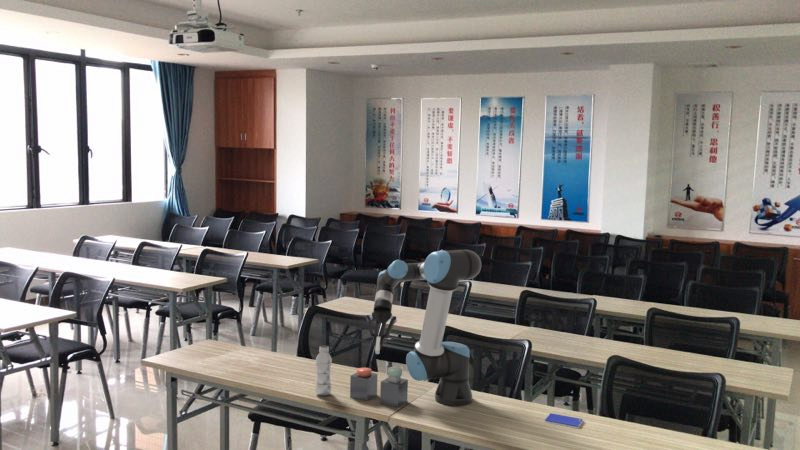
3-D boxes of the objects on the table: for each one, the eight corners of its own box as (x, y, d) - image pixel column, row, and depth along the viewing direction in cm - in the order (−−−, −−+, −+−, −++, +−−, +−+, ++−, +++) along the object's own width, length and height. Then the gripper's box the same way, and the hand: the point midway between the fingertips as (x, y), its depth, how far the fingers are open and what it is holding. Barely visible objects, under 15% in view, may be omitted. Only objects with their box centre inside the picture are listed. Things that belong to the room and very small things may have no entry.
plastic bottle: (328, 398, 277) (329, 349, 276) (312, 396, 279) (313, 348, 277) (333, 392, 284) (334, 345, 282) (317, 391, 285) (318, 344, 283)
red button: (373, 392, 282) (374, 369, 281) (366, 396, 276) (366, 372, 275) (361, 389, 284) (361, 366, 284) (353, 393, 279) (354, 370, 278)
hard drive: (583, 418, 259) (550, 412, 265) (578, 425, 252) (545, 419, 258) (582, 422, 260) (550, 416, 265) (578, 429, 252) (544, 423, 258)
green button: (404, 392, 275) (404, 368, 274) (397, 396, 270) (397, 372, 269) (391, 389, 278) (391, 366, 277) (383, 393, 272) (384, 369, 272)
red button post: (376, 395, 282) (377, 373, 281) (367, 401, 275) (367, 379, 274) (360, 391, 286) (360, 370, 285) (350, 397, 279) (350, 375, 278)
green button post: (407, 401, 276) (407, 379, 275) (398, 407, 269) (398, 385, 268) (389, 397, 279) (390, 376, 279) (380, 403, 272) (380, 381, 272)
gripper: (399, 308, 294) (393, 357, 279) (369, 307, 296) (362, 356, 280) (397, 299, 288) (392, 348, 273) (367, 297, 290) (360, 346, 275)
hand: (377, 352), depth 277 cm, fingers closed
